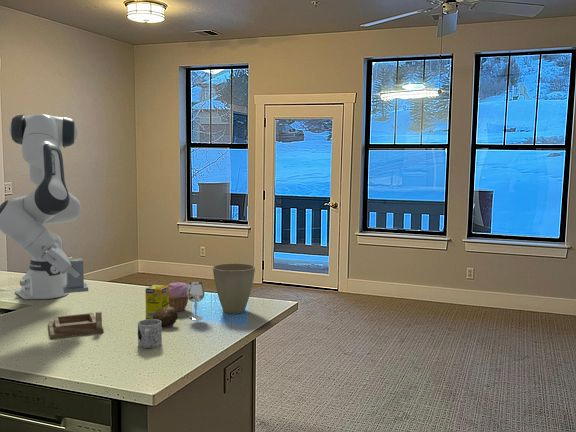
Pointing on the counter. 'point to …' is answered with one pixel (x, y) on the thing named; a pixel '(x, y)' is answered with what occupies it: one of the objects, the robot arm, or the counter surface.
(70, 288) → the grey block on base
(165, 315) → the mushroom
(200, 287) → the wineglass
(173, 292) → the cupcake
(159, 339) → the mug
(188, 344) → the counter surface
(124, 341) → the counter surface
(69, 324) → the brown wooden square tray
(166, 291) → the supplement box
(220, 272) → the plant pot
